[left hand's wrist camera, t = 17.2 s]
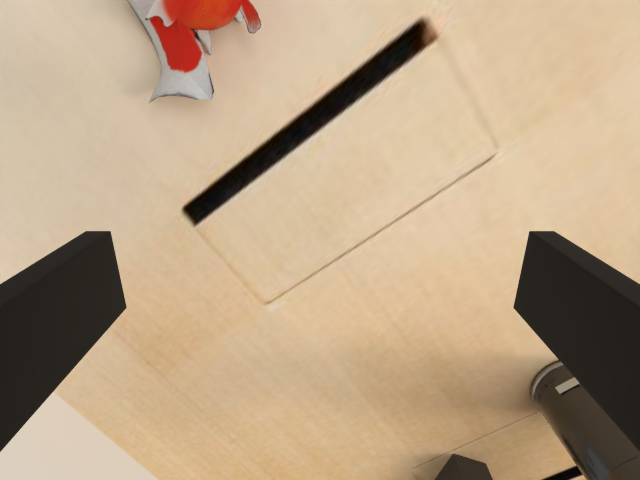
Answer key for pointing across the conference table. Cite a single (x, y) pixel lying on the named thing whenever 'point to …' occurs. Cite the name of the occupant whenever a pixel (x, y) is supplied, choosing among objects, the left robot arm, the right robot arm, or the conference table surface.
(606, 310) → the left robot arm
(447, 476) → the bar
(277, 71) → the conference table surface
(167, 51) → the fish
